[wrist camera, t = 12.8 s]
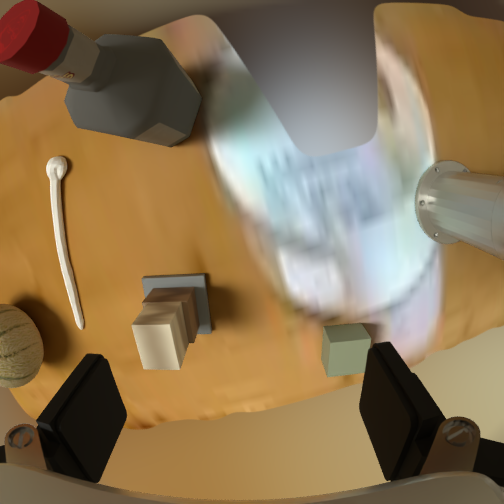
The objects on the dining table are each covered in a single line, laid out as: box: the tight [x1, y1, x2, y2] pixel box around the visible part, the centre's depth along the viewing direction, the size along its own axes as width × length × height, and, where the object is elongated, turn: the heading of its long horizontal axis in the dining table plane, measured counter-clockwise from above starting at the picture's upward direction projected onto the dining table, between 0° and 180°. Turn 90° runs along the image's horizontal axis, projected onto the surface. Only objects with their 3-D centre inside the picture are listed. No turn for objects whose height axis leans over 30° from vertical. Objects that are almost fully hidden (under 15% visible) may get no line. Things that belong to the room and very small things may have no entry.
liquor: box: [0, 0, 202, 147], centre depth 23 cm, size 9×9×30 cm
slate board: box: [142, 273, 212, 334], centre depth 44 cm, size 9×9×1 cm
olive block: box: [321, 323, 371, 377], centre depth 44 cm, size 6×6×5 cm
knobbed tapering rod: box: [46, 156, 84, 330], centre depth 41 cm, size 28×4×3 cm, turn 3°
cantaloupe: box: [0, 304, 44, 388], centre depth 39 cm, size 15×15×15 cm
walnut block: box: [142, 287, 200, 343], centre depth 41 cm, size 6×6×5 cm
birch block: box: [132, 302, 189, 370], centre depth 36 cm, size 4×6×6 cm
